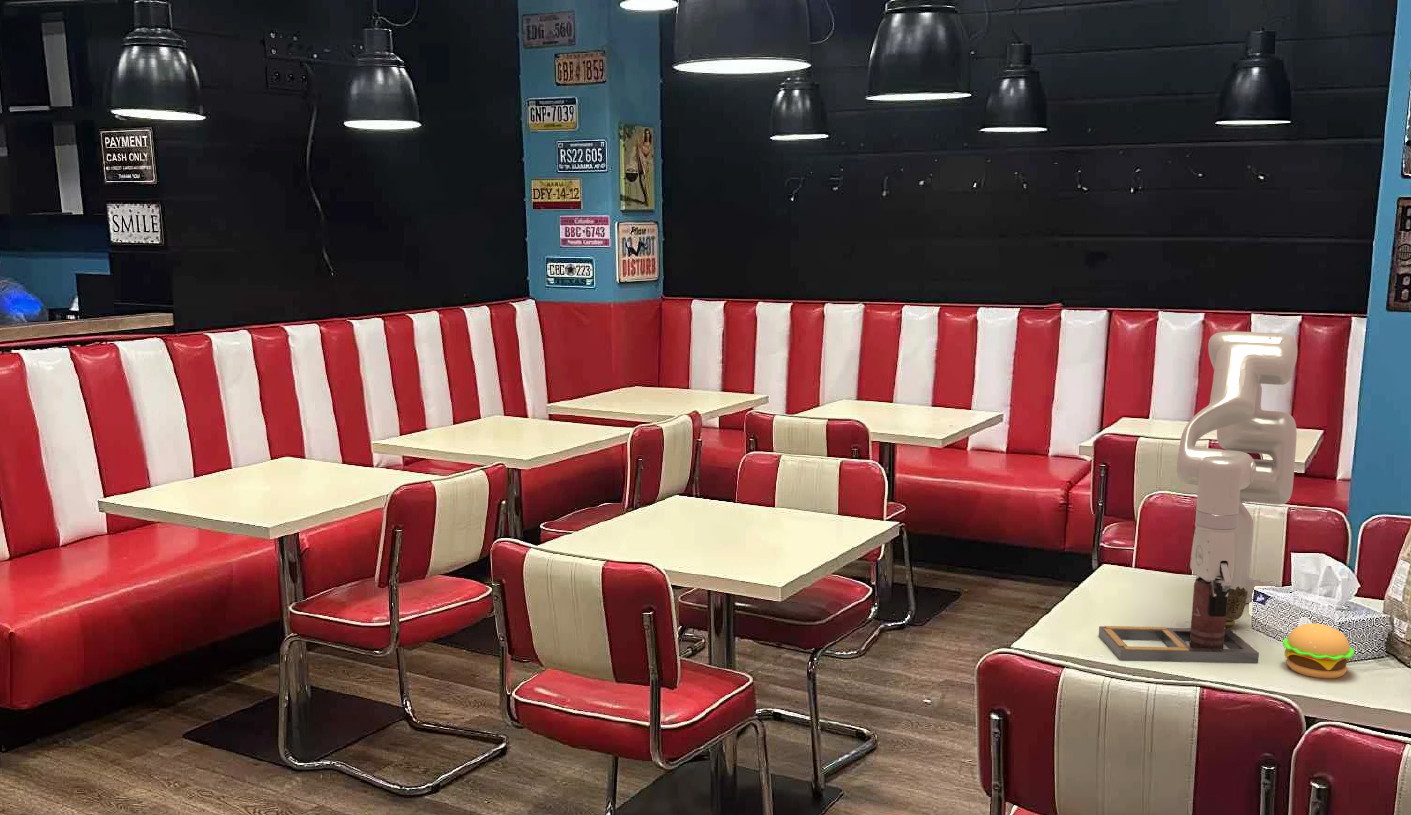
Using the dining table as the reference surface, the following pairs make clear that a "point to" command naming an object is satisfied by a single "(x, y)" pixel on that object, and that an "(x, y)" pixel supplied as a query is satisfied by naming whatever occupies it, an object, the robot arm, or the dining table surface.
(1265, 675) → the dining table surface
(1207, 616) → the can
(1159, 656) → the grey tray
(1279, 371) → the robot arm
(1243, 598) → the cup
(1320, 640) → the hamburger
